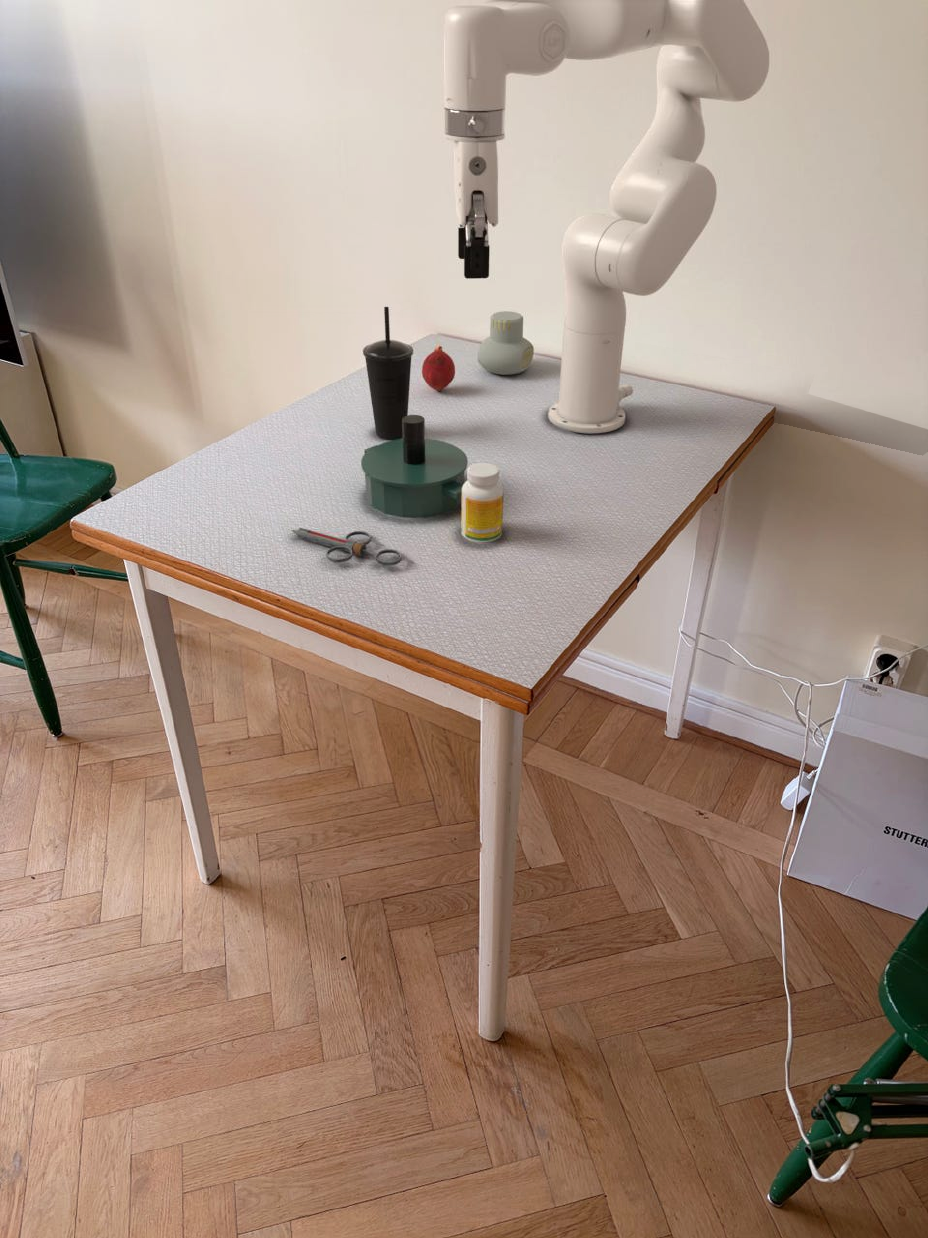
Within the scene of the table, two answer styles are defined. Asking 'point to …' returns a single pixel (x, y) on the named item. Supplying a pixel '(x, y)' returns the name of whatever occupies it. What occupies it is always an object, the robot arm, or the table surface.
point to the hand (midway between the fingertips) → (473, 267)
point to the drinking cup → (389, 382)
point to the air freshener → (506, 345)
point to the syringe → (344, 545)
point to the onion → (438, 369)
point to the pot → (414, 498)
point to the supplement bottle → (482, 503)
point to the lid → (414, 458)
